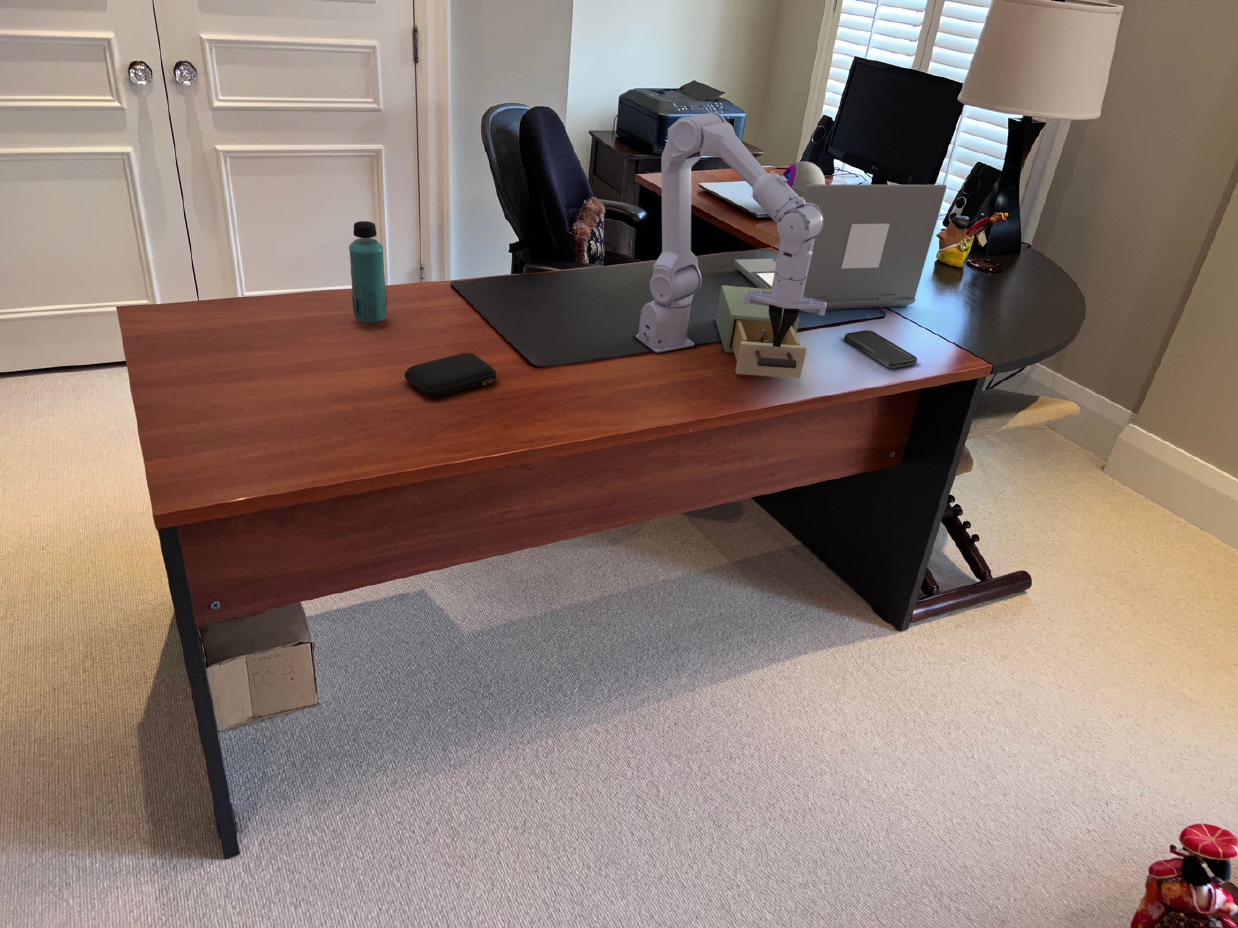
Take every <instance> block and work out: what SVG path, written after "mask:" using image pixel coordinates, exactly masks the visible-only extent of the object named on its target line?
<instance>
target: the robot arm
mask: <svg viewBox="0 0 1238 928" xmlns="http://www.w3.org/2000/svg"><path fill="white" fill-rule="evenodd" d="M703 157H711V158H719V159H721V160H723V162H725V163H726V165H728V166H729V167H730V168H731V169H732V170H733V171H734V172H735V173H736V174H738V176H739V177H741V178H742V179H743V180H744V181H745V182H746V183H747V184H748V185H749V186H750V187H751V188H752V199H753V200H754V201H755V202H756V204H758V206H759V207H760V208H761V209H762V210H763V211H764V212H765V213H766V214H767V215H768V216H769V218H770V219H771V220H773V221H774V222H775V224H776V229H777V230H776V231H777V233H778V236H779V240H780V241H779V246H778V253H777V263H776V268H775V273H774V278H773V283H772V288H771V291H748V290H746V293H745V299H744V304H748V305H749V304H757V305H764V306H769V317H770V320H771V324H772V330H773V346H775V347H780V346H781V343H782V341H783V339H784V337H785V335H786V333H787V332H788V330H789V329H790V327H791V326H792V325H793V324H794V322H795V321H796V320H797V318H798V319H799V313H800V312H804V313H805V312H806V313H813V314H817V315H818V316H822V317H823V316H825V314H826V312H827V310H826V306H827V305H826V302H824V301H818V300H815V299H811V298H807V297H804V296H803V292H804V288H805V283H806V279H807V274H808V269H809V265H810V260H811V255H812V250H813V245H814V241H815V238H813V237H815V236H816V235H818V234H819V233H820V232H821V230H822V228H823V225H824V218H823V214H822V212H821V211H820V210H819V208H818V206H817V205H815V204H812V203H806V202H805V200H804V199H803V197H799V196H798V195H797V194H796V193H795V192H794V191H793V190H792V189H791V188H790V187H789V185H788V184H787V183H786V182H787V179H786V178H785V177H784V176H783V174H782V175H779V173H775V172H773V173H768V172H767V171H766V170H765V168H764V167H763V166H762V165H761V163H759V161H758V160H757V159H756V158H755V157H754V155H753V154H752V153H751V152H750V150H749V149H748V148H747V147H746V146H745V144H743V142H742V140H740V138H739V137H738V136H737V135H736V132H735V130H734V127H733V125H732V124H731V123H729V122H728V121H727V120H726V119H725V117H724V116H723V115H722V114H721V113H719V112H716V111H709V112H707V113H703V114H697V115H692V116H682V117H680V118H678V119H677V120H676V121H674V122H673V124H671V125H670V126H669V127H668V128H667V141H666V143H665V146H664V149H663V151H662V153H661V160H660V161H661V162H660V163H661V169H660V170H661V253H660V255H659V256H658V258H657V260H656V261H655V263H653V267H652V268H653V270H652V271H653V272H652V275H651V278H650V281H649V290H650V294H651V296H652V298H653V300H652V301H650V302H647V303H645V304H643V306H642V307H641V310H640V315H639V316H640V317H639V324H638V333H637V334H636V335H635V338H636V339H637V340H639V341H640V342H641V343H643V344H644V345H645V346H646V347H648V348H649V349H651V350H652V351H653V352H654V353H656V354H657V353H658V354H659V353H663V352H670V351H673V350H674V351H675V350H681V349H685V348H690V347H694V346H695V344H696V343H695V342H694V341H692V340H691V339H689V338H688V337H687V336H688V330H689V329H688V328H689V322H690V316H691V309H692V303H693V302H692V301H693V300H694V296H695V294H696V293H697V292H698V291H699V290H700V288H701V286H702V283H703V281H702V280H703V279H702V274H701V271H700V269H699V259H698V257H697V256H696V255H695V254H694V253H693V252H692V167H694V165H695V164H696V163H697V162H698V161H699V160H701V158H703ZM810 238H813V239H810ZM783 308H784V311H783ZM782 312H783V317H782ZM781 319H782V322H781ZM780 323H781V327H780ZM779 328H780V330H779ZM778 333H779V334H778Z"/></svg>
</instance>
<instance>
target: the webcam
mask: <svg viewBox="0 0 1238 928" xmlns="http://www.w3.org/2000/svg"><path fill="white" fill-rule="evenodd" d="M782 175H783V176H784V177H785V178H786V179H787V182H786V183H787V184H788V185H789V187H790V188H791V189H792V190H793V191H794V192H795V193H796V194H797V195H798V196H799V197H803V193H804V188H805V184H826V179H825V175H824V173H823V171H822V169H821V168H820V167H819V166H817V165H816V164H815V163H813V162H810V161H804V160H803V161H797V162H795V163H792V164H790V165H789V166H787V168H786V169H785V170H784V172H783V173H782Z"/></svg>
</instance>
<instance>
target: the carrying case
mask: <svg viewBox="0 0 1238 928" xmlns="http://www.w3.org/2000/svg"><path fill="white" fill-rule="evenodd" d="M495 369H496V368H494V367H493V366H492V365H490V364H488V363H487V362H486V361H485V360H483V359H482V358H481V357H479V356H478V355H476V354H475V353H473V352H463V353H458V354H454V355H450V356H449V355H448V356H445V357H442V358H438V359H433V360H429V361H426V362H422V363H418V364H414V365H411V366H410V367H408V368H407V369H406V371H404V378H405V379H404V380H406V381H407V382H409V384H411V385H412V386H414V388H416V389H417V390H418V391H419V392H420V393H421V394H423V395H424V396H426V397H427V398H429V399H430V398H431V399H435V398H439V397H444V396H447V395H451V394H455V393H459V392H463V391H466V390H469V389H474V388H476V387H483V388H484V387H485V386H487V385H489V384H491V383H493V382H494V381H495V380H496V378H497V375H498V374H497V371H496V370H495Z"/></svg>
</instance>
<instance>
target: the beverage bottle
mask: <svg viewBox="0 0 1238 928" xmlns="http://www.w3.org/2000/svg"><path fill="white" fill-rule="evenodd" d="M352 232H353V236H354V237H357V238H355V240H353V241H352V242H351V243H350V244H349V245H348V250H349V259H350V260H349V261H350V264H349V265H350V272H349V274H350V277H351V278H350V279H351V294H352V295H351V300H352V303H351V304H352V311H353V315H354V318H355V320H358V321H359V322H364V323H378V322H382V321H383V320H385V319H386V318H387V315H388V314H389V313H388V301H387V300H388V298H387V290H386V288H387V283H386V277H385V264H384V263H385V262H384V245H383V244H382V243H381V242H380V241H379V240H377V239H375V238H374V237H376V236H377V226H376V224H375V222H372V221H368V220H362V221H356V222H355V223H353V231H352Z"/></svg>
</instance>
